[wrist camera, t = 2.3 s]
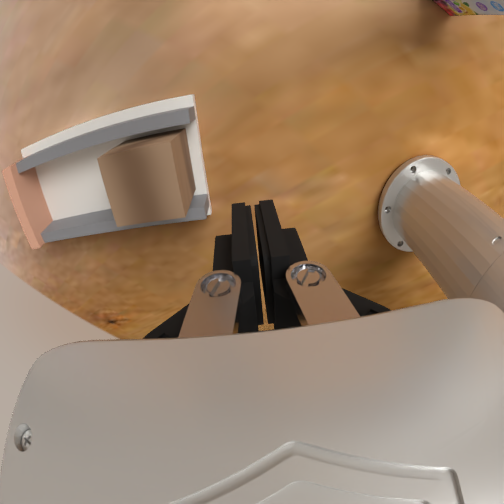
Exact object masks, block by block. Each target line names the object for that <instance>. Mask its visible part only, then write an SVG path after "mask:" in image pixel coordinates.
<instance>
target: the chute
mask: <svg viewBox="0 0 504 504" xmlns="http://www.w3.org/2000/svg"><path fill="white" fill-rule="evenodd" d="M183 128H186V133H187V140H188V146H189V152H190V158H191V164H192V170H193V175H194V181H195V187H196V190H195V192H194V195H193V198H192V201H191V204H190V206H189V209H188V212H187V215H186V217H185V218H177V219H170V220H162V221H155V222H148V223H141V224H134V225H127V226H121V227H117V225H116V222H115V219H114V216H113V212H112V209H111V206H110V203H109V200H108V197H107V193H106V190H105V186H104V183H103V179H102V176H101V172H100V168H99V165H98V161H97V158H98V157H100V156H101V155H103V154H105V153H106V152H108V151H109V150H111V149H112V148H114V147H116V146H117V145H119V144H121V143H122V142H124V141H126V140H130V139H134V138H139V137H143V136H148V135H152V134H157V133H162V132H167V131H172V130H177V129H183ZM21 153H22V156H23V159H21V160H19V161H18V162H16V163H14V164H12V165H11V166H9V167H7V168H6V169H4V170H3V171H2V173H3V176H4V180H5V183H6V186H7V189H8V192H9V195H10V198H11V200H12V203H13V206H14V209H15V211H16V214H17V216H18V219H19V221H20V224H21V226H22V228H23V231H24V233H25V235H26V238H27V240H28V242H29V244H30V246H31V248H32V249H36V248H41V246H42V245H43V244H44V243H46V242H52V241H57V240H63V239H69V238H75V237H81V236H87V235H93V234H99V233H105V232H112V231H119V230H125V229H132V228H139V227H146V226H154V225H161V224H169V223H177V222H185V221H193V220H202V219H206V218H207V215H211V212H212V209H211V203H210V197H209V191H208V185H207V179H206V172H205V166H204V160H203V153H202V146H201V140H200V133H199V126H198V119H197V111H196V104H195V96H194V94H192V95H186V96H181V97H176V98H171V99H166V100H161V101H157V102H152V103H148V104H144V105H140V106H136V107H132V108H129V109H125V110H122V111H118V112H115V113H112V114H108V115H105V116H102V117H99V118H96V119H93V120H90V121H87V122H84V123H82V124H79V125H76V126H74V127H71V128H68V129H66V130H63V131H61V132H58V133H56V134H54V135H51V136H49V137H47V138H44V139H42V140H40V141H38V142H36V143H34V144H31V145H29V146H27V147H25V148H23V149H21Z"/></svg>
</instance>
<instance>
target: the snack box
mask: <svg viewBox="0 0 504 504" xmlns="http://www.w3.org/2000/svg"><path fill="white" fill-rule="evenodd" d="M433 1H434V2H435V3H436V4H438V5H439V6H440V7H441V8H442V9H444V10H445V11H446V12H447V13H448V14H449V15H450V16H459V15H504V0H433Z"/></svg>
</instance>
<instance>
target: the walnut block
mask: <svg viewBox="0 0 504 504" xmlns="http://www.w3.org/2000/svg"><path fill="white" fill-rule="evenodd" d="M97 161H98V165H99V168H100V172H101V176H102V179H103V183H104V186H105V190H106V193H107V197H108V200H109V203H110V206H111V209H112V212H113V216H114V219H115V222H116V225H117V227H121V226H127V225H134V224H141V223H148V222H155V221H162V220H170V219H177V218H185V217H186V215H187V212H188V209H189V206H190V204H191V201H192V198H193V195H194V192H195V190H196V187H195V181H194V175H193V170H192V164H191V158H190V152H189V146H188V140H187V133H186V128H183V129H177V130H172V131H167V132H162V133H157V134H152V135H148V136H143V137H139V138H134V139H130V140H126V141H124V142H122V143H121V144H119V145H117V146H116V147H114V148H112V149H111V150H109V151H108V152H106V153H105V154H103V155H101V156H100V157H98V158H97Z"/></svg>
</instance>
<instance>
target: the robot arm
mask: <svg viewBox="0 0 504 504" xmlns="http://www.w3.org/2000/svg"><path fill="white" fill-rule="evenodd" d="M255 217H256V228H257V239H258V250H259V261H260V269H261V276H262V283H263V290H264V297H265V304H266V312H267V319H268V324H271V323H274V329H275V330H266V331H258V325H263V324H264V323H263V312H262V300H261V289H260V278H259V267H258V258H257V250H256V243H255V235H254V228H253V221H252V214H251V206H250V205H249V206H245V203H236V204H232V234H230V235H221V236H216V238H215V249H214V261H213V272H209V273H207V274H205V275H204V276H202V277H201V278H200V279H199V280H198V282H197V284H196V286H195V289H194V292H193V295H192V298H191V301H190V303H189V304H188V305H187V306H185V307H184V308H182V309H181V310H180V311H178V312H177V313H176V314H174V315H173V316H172V317H170V318H169V319H168V320H166V321H165V322H163V323H162V324H161V325H159V326H158V327H157V328H155V329H154V330H152V331H151V332H150V333H148V334H147V335H146V336H145V337H144V338H143V339H116V340H89V341H79V342H74V343H69V344H65V345H62V346H59V347H56V348H53V349H51V350H49V351H47V352H45V353H44V354H42V355H41V356H40V357H39V358H38V359H37V360H36V361H35V363H34V364H33V366H32V367H31V369H30V371H29V373H28V375H27V377H26V379H25V381H24V383H23V385H22V388H21V391H20V393H19V396H18V399H17V402H16V405H15V408H14V411H13V414H12V418H11V421H10V425H9V430H8V434H7V438H6V443H5V448H4V454H3V460H2V466H1V476H0V504H504V219H503V218H502V217H501V216H500V215H499V214H497V213H496V212H495V211H494V210H492V209H491V208H490V207H489V206H487V205H486V204H485V203H483V202H482V201H481V200H479V199H478V198H477V197H475V196H474V195H473V194H471V193H470V192H469V191H467V190H466V189H464V188H463V187H461V186H460V181H459V178H458V176H457V173H456V172H455V170H454V169H453V167H452V166H451V165H450V164H449V163H447V162H446V161H444V160H443V159H441V158H438V157H436V156H432V155H422V156H417V157H414V158H412V159H410V160H408V161H406V162H405V163H403V164H402V165H401V166H400V167H399V168H398V169H397V170H396V171H395V172H394V173H393V174H392V176H391V177H390V178H389V180H388V181H387V183H386V185H385V187H384V189H383V191H382V194H381V197H380V201H379V207H378V220H379V226H380V229H381V231H382V233H383V235H384V236H385V238H386V239H387V240H388V242H389V243H390V244H391V245H392V246H394V247H395V248H397V249H399V250H402V251H407V252H414V254H415V255H416V256H417V257H418V259H419V260H420V261H421V262H422V264H423V265H424V266H425V268H426V269H427V270H428V272H429V273H430V274H431V276H432V277H433V278H434V280H435V281H436V282H437V284H438V285H439V287H440V288H441V289H442V291H443V292H444V294H445V295H446V296H447V298H448V299H444V300H439V301H435V302H430V303H425V304H420V305H415V306H411V307H406V308H402V309H397V310H392V311H391V310H390V309H388V308H386V307H384V306H382V305H380V304H377V303H375V302H373V301H370V300H368V299H366V298H363V297H361V296H359V295H357V294H354V293H352V292H350V291H347V290H345V289H343V288H341V287H340V285H339V284H338V282H337V281H336V279H335V278H334V276H333V275H332V273H331V272H330V270H329V269H328V268H327V267H326V266H324V265H323V264H321V263H318V262H315V261H308V260H307V257H306V254H305V252H304V249H303V246H302V244H301V241H300V238H299V236H298V233H297V231H296V229H295V228H287V229H281V225H280V222H279V219H278V216H277V212H276V209H275V206H274V203H273V200H264V201H259V205H255Z"/></svg>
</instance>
